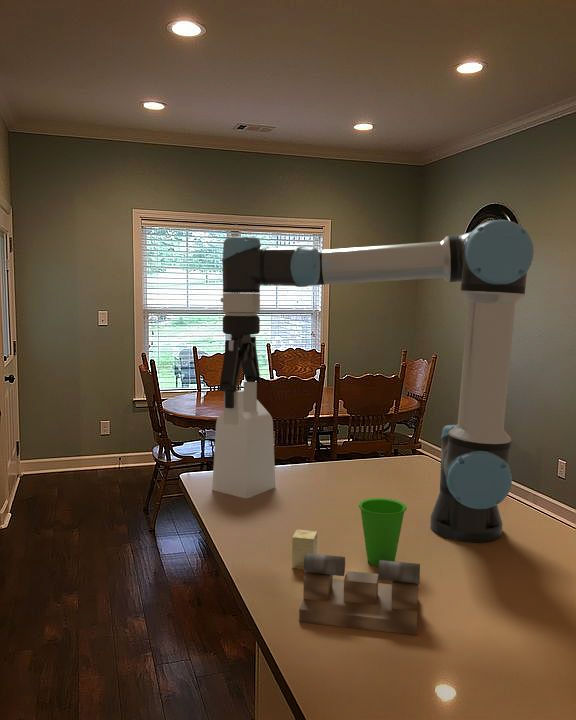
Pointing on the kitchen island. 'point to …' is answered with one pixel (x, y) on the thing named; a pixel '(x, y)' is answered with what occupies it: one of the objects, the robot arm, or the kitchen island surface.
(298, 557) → the wooden block
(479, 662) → the kitchen island surface
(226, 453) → the milk
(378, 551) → the cup
